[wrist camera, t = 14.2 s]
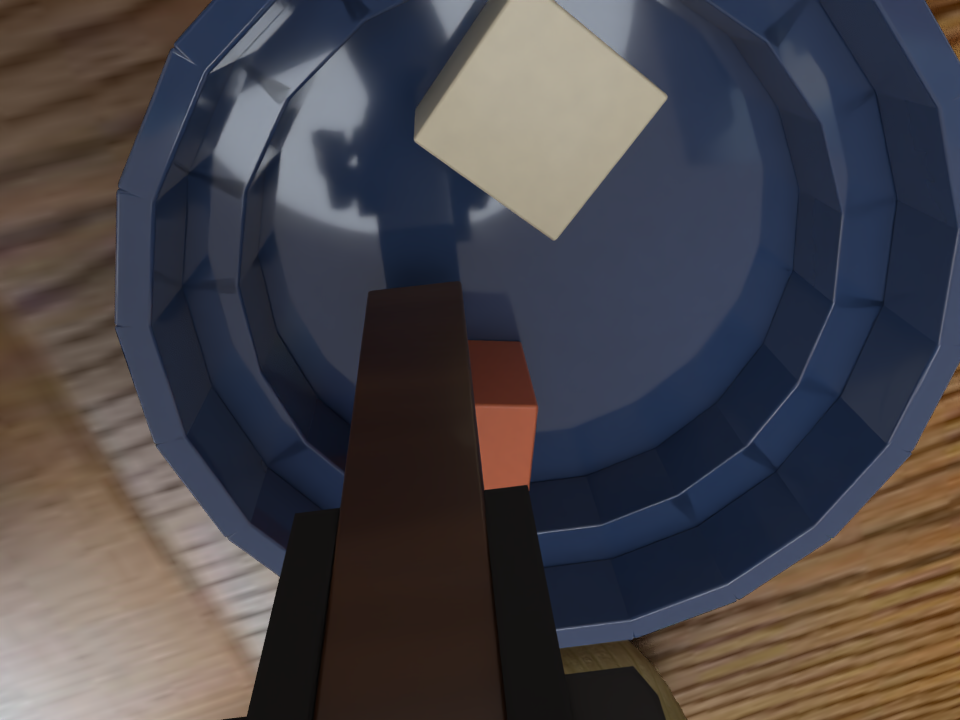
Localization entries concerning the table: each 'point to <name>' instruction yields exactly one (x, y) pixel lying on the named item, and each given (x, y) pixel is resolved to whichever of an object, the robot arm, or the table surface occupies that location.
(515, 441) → the block terracotta
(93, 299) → the table surface
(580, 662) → the fennel bulb
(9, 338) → the table surface
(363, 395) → the stir stick
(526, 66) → the block cream
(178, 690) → the table surface
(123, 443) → the table surface
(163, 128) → the bowl
